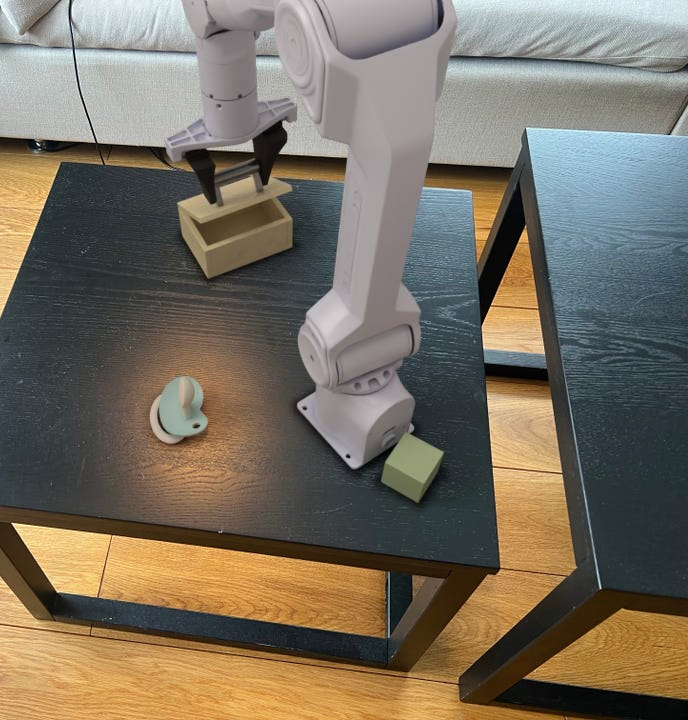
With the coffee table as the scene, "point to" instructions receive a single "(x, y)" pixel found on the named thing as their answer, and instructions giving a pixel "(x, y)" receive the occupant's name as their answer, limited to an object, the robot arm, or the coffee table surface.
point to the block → (411, 467)
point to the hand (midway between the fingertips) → (236, 189)
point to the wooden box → (238, 236)
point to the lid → (234, 192)
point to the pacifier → (178, 410)
